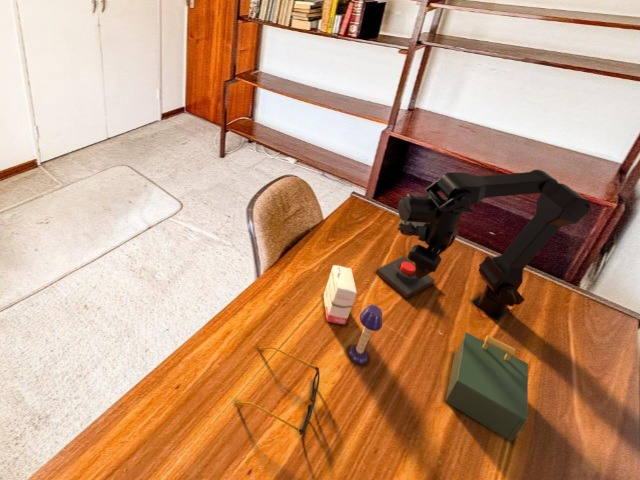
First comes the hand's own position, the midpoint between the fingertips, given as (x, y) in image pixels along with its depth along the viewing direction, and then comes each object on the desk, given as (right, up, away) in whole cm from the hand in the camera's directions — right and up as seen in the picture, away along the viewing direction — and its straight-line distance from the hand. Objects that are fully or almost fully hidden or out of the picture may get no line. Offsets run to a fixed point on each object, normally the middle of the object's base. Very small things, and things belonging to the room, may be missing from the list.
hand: (424, 268), depth 104 cm
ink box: (-23, -12, +2) cm, 26 cm away
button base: (+2, -8, +12) cm, 15 cm away
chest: (+2, -22, -17) cm, 27 cm away
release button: (+2, -5, +11) cm, 12 cm away
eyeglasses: (-42, -21, -17) cm, 50 cm away
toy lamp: (-22, -18, -10) cm, 30 cm away
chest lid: (+3, -15, -19) cm, 25 cm away
